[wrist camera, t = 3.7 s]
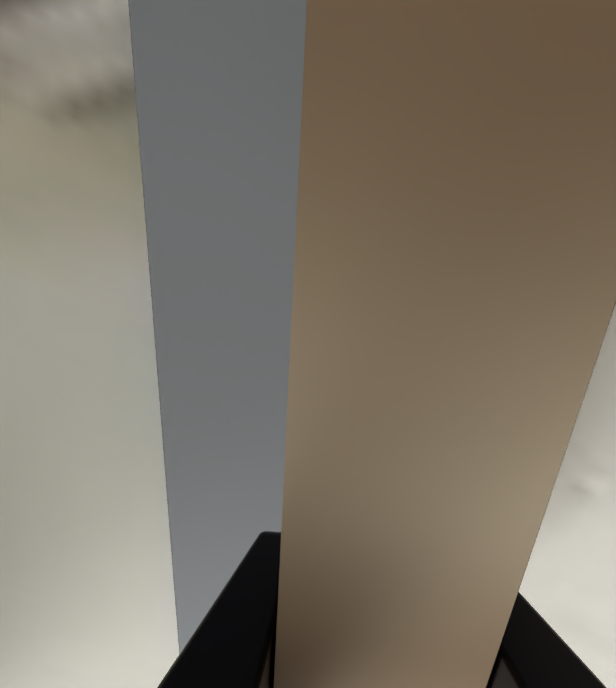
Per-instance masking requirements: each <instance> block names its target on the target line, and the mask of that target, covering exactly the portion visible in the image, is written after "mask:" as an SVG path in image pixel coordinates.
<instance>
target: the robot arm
mask: <svg viewBox="0 0 616 688" xmlns="http://www.w3.org/2000/svg"><path fill="white" fill-rule="evenodd" d="M280 547H281V532H272V531H263V532H261V533H260V534H259V535H258V537H257V538H256V540H255V541H254V543H253V544H252V546H251V547H250V549H249V550H248V552H247V553H246V555H245V556H244V558H243V559H242V561H241V562H240V564H239V565H238V567H237V568H236V570H235V571H234V573H233V574H232V576H231V577H230V579H229V580H228V582H227V584H226V585H225V587H224V588H223V590H222V591H221V593H220V594H219V596H218V597H217V599H216V600H215V602H214V603H213V605H212V606H211V608H210V609H209V611H208V612H207V614H206V615H205V617H204V618H203V620H202V621H201V623H200V624H199V626H198V627H197V629H196V630H195V632H194V633H193V635H192V636H191V638H190V639H189V641H188V642H187V644H186V645H185V647H184V648H183V650H182V651H181V653H180V654H179V656H178V657H177V659H176V660H175V662H174V663H173V665H172V666H171V668H170V669H169V671H168V672H167V674H166V675H165V677H164V678H163V680H162V681H161V683H160V684H159V686H158V688H274V672H275V651H276V630H277V610H278V589H279V568H280ZM486 688H606V687H605V686H604V684H603V683H602V682H601V681H600V680H599V679H598V678H597V677H596V676H595V675H594V674H593V672H592V671H591V670H590V669H589V668H588V667H587V666H586V665H585V664H584V663H583V661H582V660H581V659H580V658H579V657H578V656H577V655H576V654H575V653H574V652H573V651H572V649H571V648H570V647H569V646H568V645H567V644H566V643H565V642H564V641H563V640H562V639H561V637H560V636H559V635H558V634H557V633H556V632H555V631H554V630H553V629H552V628H551V627H550V625H549V624H548V623H547V622H546V621H545V620H544V619H543V618H542V617H541V616H540V614H539V613H538V612H537V611H536V610H535V609H534V608H533V607H532V606H531V605H530V604H529V602H528V601H527V600H526V599H525V598H524V597H523V596H522V595H521V594H520V593H519V592H518V594H517V597H516V600H515V603H514V606H513V609H512V612H511V614H510V617H509V620H508V623H507V626H506V629H505V632H504V635H503V638H502V641H501V644H500V647H499V650H498V653H497V656H496V659H495V662H494V665H493V668H492V671H491V674H490V677H489V680H488V683H487V685H486Z"/></svg>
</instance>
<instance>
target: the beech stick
mask: <svg viewBox="0 0 616 688" xmlns="http://www.w3.org/2000/svg"><path fill="white" fill-rule="evenodd" d="M615 304H616V0H307V8H306V29H305V49H304V70H303V91H302V112H301V132H300V153H299V174H298V195H297V215H296V236H295V257H294V278H293V298H292V319H291V340H290V361H289V381H288V402H287V423H286V444H285V464H284V485H283V506H282V527H281V547H280V568H279V589H278V610H277V630H276V651H275V672H274V688H486V685H487V683H488V680H489V677H490V674H491V671H492V668H493V665H494V662H495V659H496V656H497V653H498V650H499V647H500V644H501V641H502V638H503V635H504V632H505V629H506V626H507V623H508V620H509V617H510V614H511V612H512V609H513V606H514V603H515V600H516V597H517V594H518V591H519V588H520V585H521V582H522V579H523V576H524V573H525V570H526V567H527V564H528V561H529V558H530V555H531V552H532V549H533V546H534V543H535V541H536V538H537V535H538V532H539V529H540V526H541V523H542V520H543V517H544V514H545V511H546V508H547V505H548V502H549V499H550V496H551V493H552V490H553V487H554V484H555V481H556V478H557V475H558V472H559V470H560V467H561V464H562V461H563V458H564V455H565V452H566V449H567V446H568V443H569V440H570V437H571V434H572V431H573V428H574V425H575V422H576V419H577V416H578V413H579V410H580V407H581V404H582V401H583V399H584V396H585V393H586V390H587V387H588V384H589V381H590V378H591V375H592V372H593V369H594V366H595V363H596V360H597V357H598V354H599V351H600V348H601V345H602V342H603V339H604V336H605V333H606V330H607V328H608V325H609V322H610V319H611V316H612V313H613V310H614V307H615Z"/></svg>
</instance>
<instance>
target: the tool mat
mask: <svg viewBox="0 0 616 688" xmlns="http://www.w3.org/2000/svg"><path fill="white" fill-rule="evenodd" d="M128 2H129V15H130V27H131V40H132V53H133V66H134V79H135V91H136V104H137V117H138V130H139V143H140V155H141V168H142V181H143V194H144V207H145V219H146V232H147V245H148V258H149V271H150V283H151V296H152V309H153V322H154V335H155V347H156V360H157V373H158V386H159V399H160V411H161V424H162V437H163V450H164V463H165V475H166V488H167V501H168V514H169V527H170V539H171V552H172V565H173V578H174V591H175V603H176V616H177V629H178V642H179V654H180V653H181V651H182V650H183V648H184V647H185V645H186V644H187V642H188V641H189V639H190V638H191V636H192V635H193V633H194V632H195V630H196V629H197V627H198V626H199V624H200V623H201V621H202V620H203V618H204V617H205V615H206V614H207V612H208V611H209V609H210V608H211V606H212V605H213V603H214V602H215V600H216V599H217V597H218V596H219V594H220V593H221V591H222V590H223V588H224V587H225V585H226V584H227V582H228V580H229V579H230V577H231V576H232V574H233V573H234V571H235V570H236V568H237V567H238V565H239V564H240V562H241V561H242V559H243V558H244V556H245V555H246V553H247V552H248V550H249V549H250V547H251V546H252V544H253V543H254V541H255V540H256V538H257V537H258V535H259V534H260V533H261V532H263V531H272V532H281V527H282V506H283V485H284V464H285V444H286V423H287V402H288V381H289V361H290V340H291V319H292V298H293V278H294V257H295V236H296V215H297V195H298V174H299V153H300V132H301V112H302V91H303V70H304V49H305V29H306V8H307V0H128Z"/></svg>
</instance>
